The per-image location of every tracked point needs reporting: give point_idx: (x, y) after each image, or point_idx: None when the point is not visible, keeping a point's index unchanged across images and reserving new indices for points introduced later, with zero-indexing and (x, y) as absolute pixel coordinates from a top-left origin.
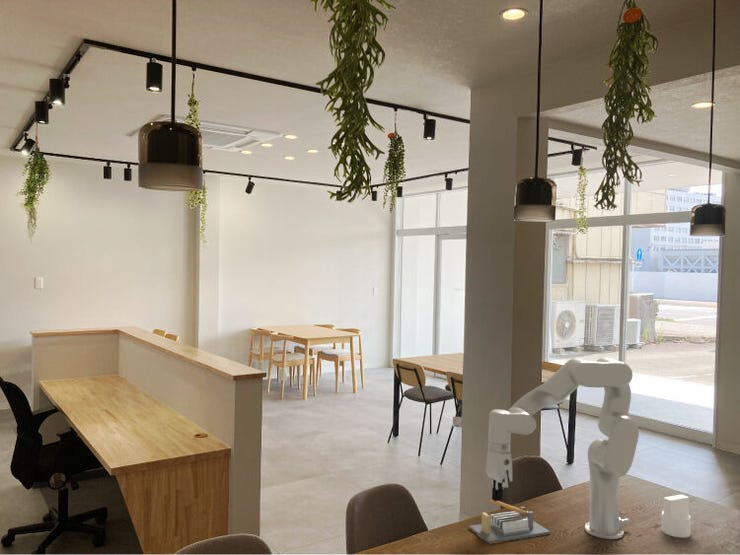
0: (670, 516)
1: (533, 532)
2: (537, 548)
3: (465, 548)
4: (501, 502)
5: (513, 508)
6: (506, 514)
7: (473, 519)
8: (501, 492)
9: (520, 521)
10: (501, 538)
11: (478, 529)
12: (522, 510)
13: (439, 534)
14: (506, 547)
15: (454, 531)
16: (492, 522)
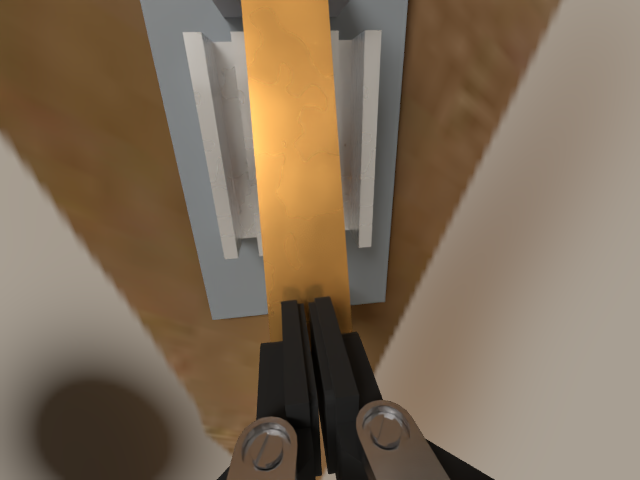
0: None
1: (386, 20)
2: (507, 109)
3: (375, 371)
4: (280, 261)
5: (337, 155)
6: (221, 139)
7: (96, 254)
8: (376, 387)
9: (375, 112)
10: (381, 243)
11: (260, 297)
12: (298, 20)
13: (246, 412)
14: (431, 242)
15: (230, 366)
16: (243, 234)
